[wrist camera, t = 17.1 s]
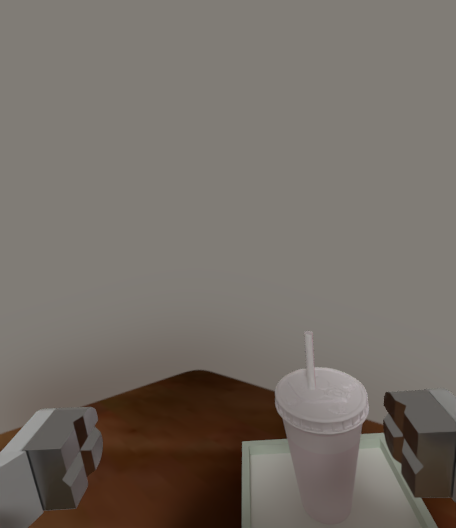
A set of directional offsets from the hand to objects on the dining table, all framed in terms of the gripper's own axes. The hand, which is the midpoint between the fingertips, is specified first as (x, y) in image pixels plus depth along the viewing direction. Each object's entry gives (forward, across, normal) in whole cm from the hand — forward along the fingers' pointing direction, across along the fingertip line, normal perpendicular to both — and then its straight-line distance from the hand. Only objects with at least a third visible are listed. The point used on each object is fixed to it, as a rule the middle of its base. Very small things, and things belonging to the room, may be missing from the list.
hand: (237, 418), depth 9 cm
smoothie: (+12, -5, +18) cm, 23 cm away
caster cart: (+12, -5, +21) cm, 25 cm away
